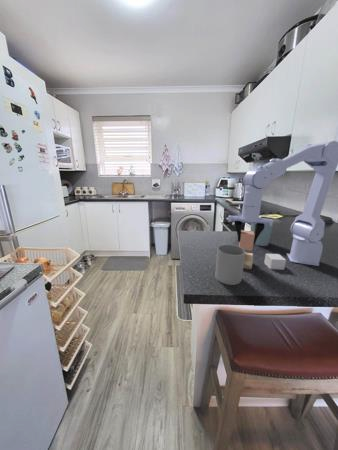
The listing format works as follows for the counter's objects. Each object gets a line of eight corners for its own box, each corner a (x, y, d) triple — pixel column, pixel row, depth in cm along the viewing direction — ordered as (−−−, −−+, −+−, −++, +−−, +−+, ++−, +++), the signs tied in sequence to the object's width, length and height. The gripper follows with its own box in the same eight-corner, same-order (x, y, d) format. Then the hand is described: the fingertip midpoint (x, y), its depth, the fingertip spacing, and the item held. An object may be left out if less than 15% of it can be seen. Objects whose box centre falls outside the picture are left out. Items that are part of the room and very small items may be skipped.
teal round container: (264, 248, 88) (268, 223, 85) (243, 242, 96) (247, 218, 92) (273, 243, 95) (277, 220, 91) (253, 237, 102) (256, 216, 99)
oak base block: (251, 263, 74) (252, 253, 73) (251, 270, 68) (252, 259, 67) (235, 260, 76) (236, 250, 75) (234, 266, 71) (235, 256, 70)
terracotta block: (251, 246, 72) (253, 231, 71) (252, 250, 68) (254, 235, 67) (238, 244, 74) (240, 230, 72) (239, 249, 70) (241, 233, 68)
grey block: (277, 263, 74) (279, 254, 73) (284, 269, 69) (286, 259, 68) (264, 263, 74) (265, 253, 73) (270, 269, 69) (271, 259, 68)
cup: (221, 268, 68) (224, 242, 66) (244, 276, 63) (248, 249, 61) (210, 278, 62) (213, 250, 59) (235, 288, 57) (239, 257, 54)
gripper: (272, 205, 68) (266, 241, 71) (230, 202, 72) (226, 236, 76) (276, 208, 61) (269, 247, 65) (229, 205, 66) (225, 242, 69)
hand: (246, 242), depth 70 cm, fingers closed on terracotta block, 4 cm apart
